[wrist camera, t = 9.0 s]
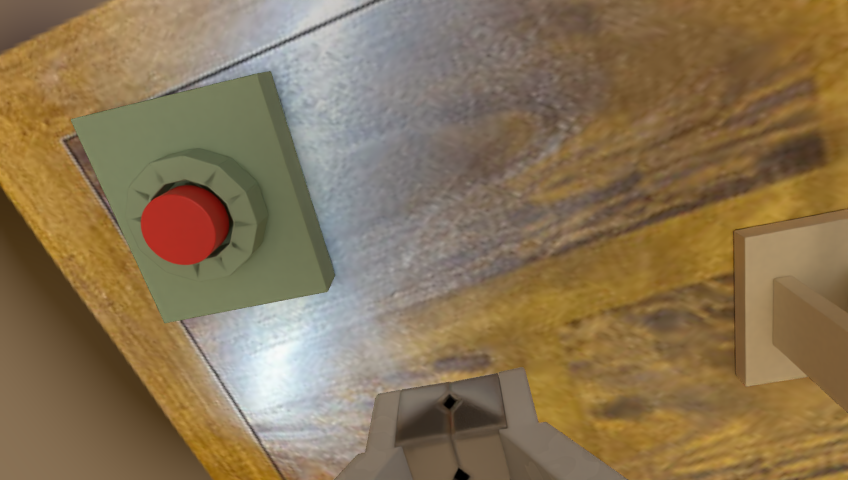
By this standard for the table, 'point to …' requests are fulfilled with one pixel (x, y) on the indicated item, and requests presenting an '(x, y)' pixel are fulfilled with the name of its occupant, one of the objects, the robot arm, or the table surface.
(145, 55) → the table surface
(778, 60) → the table surface
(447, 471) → the robot arm
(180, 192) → the button
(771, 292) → the lever bracket
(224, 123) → the button housing
